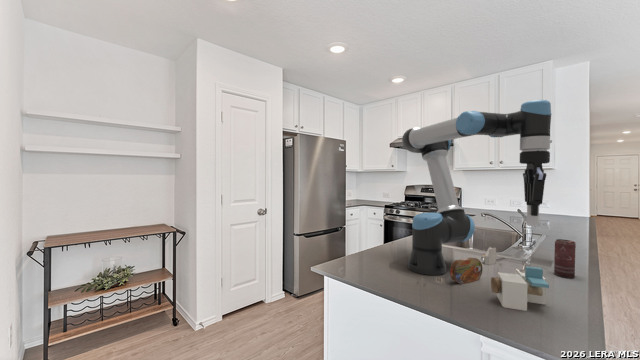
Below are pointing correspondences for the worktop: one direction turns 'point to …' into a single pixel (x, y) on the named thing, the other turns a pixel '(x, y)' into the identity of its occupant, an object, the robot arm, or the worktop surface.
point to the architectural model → (490, 256)
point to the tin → (466, 270)
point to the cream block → (512, 291)
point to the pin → (532, 290)
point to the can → (564, 258)
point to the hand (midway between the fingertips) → (532, 225)
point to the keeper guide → (534, 297)
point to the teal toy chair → (535, 277)
